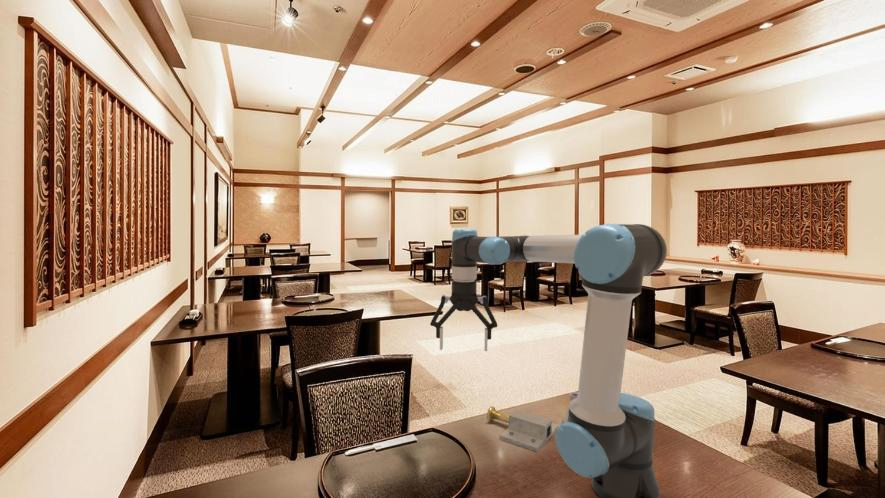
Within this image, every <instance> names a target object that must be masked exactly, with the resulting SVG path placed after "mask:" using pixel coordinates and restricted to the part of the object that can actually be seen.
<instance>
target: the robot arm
mask: <svg viewBox="0 0 885 498" xmlns="http://www.w3.org/2000/svg"><path fill="white" fill-rule="evenodd" d="M667 252H668V249H667V244H666V241H665V239H664V237H663V236H662V234H661V233H660V232H659V231H658V230H657V229H655V228H653V227H652V226H649V225H646V224H639V223H637V224H636V223H633V224H631V223H628V224H627V223H626V224H625V223H623V224H622V223H619V224H618V223H607V224H606V223H605V224H600V225H596V226H593V227H591V228H590V229H588V230H586V231H585V232H584V233H583V234H558V235H557V234H554V235H553V234H552V235H551V234H550V235H549V234H548V235H547V234H546V235H545V234H544V235H514V236H513V235H511V236H509V235H508V236H479V235H478V231H477V229H472V228H457V229H456V228H455V229H454V230H453V231H452V237H451V279H452V281H451V296H450V295H448V296H447V295H445V294H442V295H441V297H440V303H439V306H438V307H437V309H436V311H435V313H434V315H433V318H432V319H431V321H430V322H429V323H430V326H431V327H434V328H435V333H436V334H435V337H436V339H439V351H443V347H444V326H442V325H443V324H445V322H446V321H447V320H448V319H449V318H450V317H451V315H452V314H453V313H454V312H455V311H458V312H470V311H472V312H473V313H474V314H475V315H476V317H477V318H478V319H479V320H480V321H481V323H482V324H483V325H484V326H485V327H484V352H488V341H489V340H491V339H492V329H494V328H497V327H498V323H497V320H496V318H495V316H494V314H493V312H492V310H491V308H490V306H489V304H488V299H487V296H486V295H483V296H477V290H478V289H477V281H476V280H477V278H478V276H477V274H478V272H477V271H478V263H482V264H487V265H491V266H492V265H493V266H494V265H502V264H503V263H509V262H532V263H533V262H536V263H556V264H557V263H558V264H574V265H575V268H576V269H577V270H578V274H579V275H580V276H581V277H582V281H581V286H582V287H583V289H584V290H585V292H586V293H587V294H588V295H587V303H586V313H585V320H584V321H585V323H584V324H585V325H584V331H583V332H584V333H583V342H582V352H581V360H580V369H579V379H578V380H579V381H578V389H577V393H578V397H577V398H575V399H574V400H572V401H571V402H570V401H569V403H570V405H569V404H568V407H569V413H568V421H567V422H565V423H561V424H560V425H559V428H558V429H557V431H556V432H555V443H556V448H557V450H558V453H559V454H560V456H561V457H562V459H563V462H564V463H565V464H566V466H568V468H570V469H571V470H572V471H573V472H574V473H575V474H577V475H579V476H581V477H584V478H587V479H591V487H592V490H593V491H594V493H595V494H596V495H597V496H598V497H599V498H660V495H661V493H660V491H661V490H660V486H659V482H658V480H657V476H656V473H655V469H654V467H653V459H654V439H655V438H654V437H655V424H656V423H655V422H656V418H655V408H654V406H653V405H652V403H650V402H649V401H648V400H646V399H644V398H643V397H640V396H636V395H633V394H629V393H625V392H622V383H623V376H624V369H625V359H626V352H627V343H628V335H629V326H630V319H631V311H632V303H633V300H634V299H635V298H636V297H638V296H639V295H641V294H642V287H643V282H644V281H643V279H644V277H647V276H650V275H652V274H654V273H656V272H657V271H658V270H660V268H661V267H662V265H663V264H664V262H665V260H666V258H667ZM449 301H450V303H451V306H450V308H449V309H448V310H447V312H446V313H445V314H444V315H442V317H441V318H440V319H439V321H438V322H437V320H438V318H439V316H440V314H441V312H442V310H443V309H444V306H445V304H447V303H448V302H449ZM478 302H479V303H480V304H482V305H483V308H484V310H485V311H486V314H487V316H488V318H489V320H490V321H491V323H490V322H489V321H488V319H487V318H486V317H485V315H483V313H482V312H481V311H480V310H479V308H478V307H477V306H476V304H477V303H478Z"/></svg>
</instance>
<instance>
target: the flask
mask: <svg viewBox="0 0 885 498" xmlns="http://www.w3.org/2000/svg"><path fill="white" fill-rule="evenodd" d="M569 397H570V399H569V404H568V407H567V409H566V411H565V414H564V416H563V418H562V420H561V424H563V423H565V422H567V421H568V413H569V405H570V402H571V401H572V400H574V399H575V398H577V397H578V392H570V393H569Z"/></svg>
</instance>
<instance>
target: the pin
mask: <svg viewBox="0 0 885 498" xmlns="http://www.w3.org/2000/svg"><path fill="white" fill-rule="evenodd" d="M509 415H510V414H507V413H503V412H500V411H497V409H496V407H495V406H489V408H488V409H487V413H486V419H487V421H489V422H492V421H493V420H497V421H499V422H503V423H505V424H509Z"/></svg>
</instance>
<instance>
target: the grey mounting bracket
mask: <svg viewBox="0 0 885 498" xmlns="http://www.w3.org/2000/svg"><path fill="white" fill-rule="evenodd" d="M508 415H509V423H508V427H507V428H506V429H505V430H504V431H502V432H501V433H500V434H499V435H498V436H499V437H498V439H499V440H501V441H504V442H507V443H509V444H512V445H515V446H518V447H521V448H524V449H527V450H530V451H533V452H536V453H538V452H539V451H540V450H541V449H542V448H543V447H544V446H545V445H546V443H547V442H548V441H549V440H550V439H551V437H553V436H554V434H556V432H557V429H558V428H559V427H560V424H557V423H555V422H553V420H552V419H550V418H546V417H543V416H539V415H536V414H532V413H529V412H526V411H522V410H518V409H515V410H514V411H512V412H511V413H510V414H508Z"/></svg>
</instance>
